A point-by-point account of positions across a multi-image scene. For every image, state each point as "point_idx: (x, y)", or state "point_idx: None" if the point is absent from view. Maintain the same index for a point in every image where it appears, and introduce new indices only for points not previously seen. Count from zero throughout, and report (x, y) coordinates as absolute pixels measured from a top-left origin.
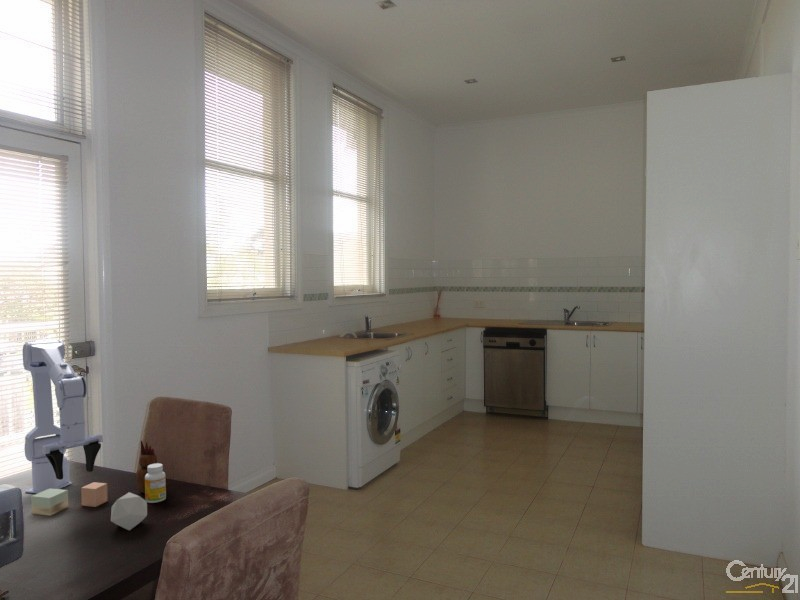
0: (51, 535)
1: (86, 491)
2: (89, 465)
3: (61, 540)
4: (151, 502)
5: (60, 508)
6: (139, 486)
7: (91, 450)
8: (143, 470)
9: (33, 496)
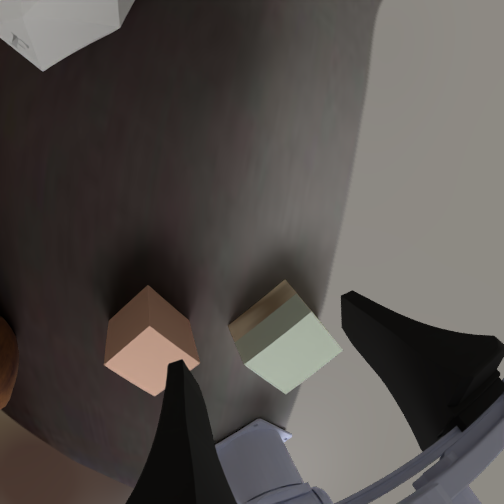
0: (317, 96)
1: (180, 341)
2: (191, 397)
3: (300, 33)
4: None
5: (255, 310)
6: (7, 337)
7: (202, 488)
8: None
9: (339, 346)
